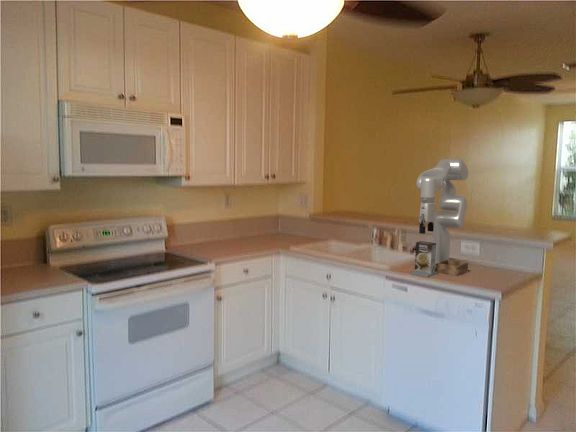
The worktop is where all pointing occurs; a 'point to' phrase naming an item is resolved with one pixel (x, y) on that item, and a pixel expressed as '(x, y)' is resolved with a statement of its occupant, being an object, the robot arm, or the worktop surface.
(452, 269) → the holder
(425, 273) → the mat
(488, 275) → the worktop surface
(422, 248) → the coffee box
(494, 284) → the worktop surface
